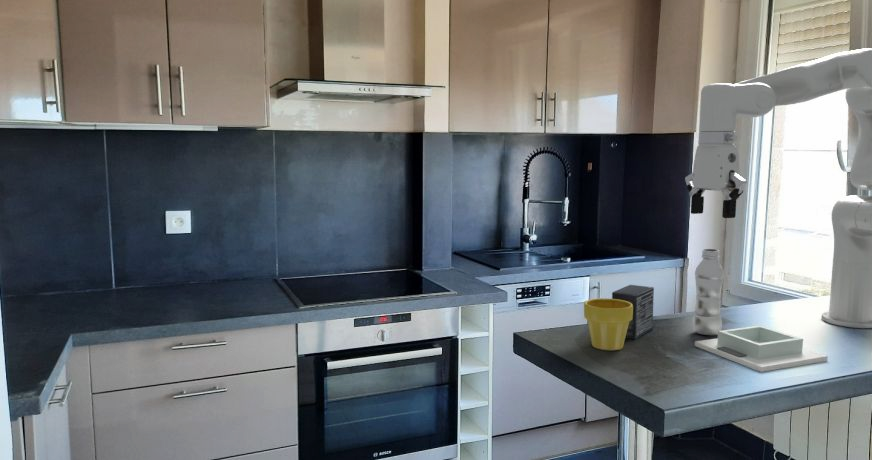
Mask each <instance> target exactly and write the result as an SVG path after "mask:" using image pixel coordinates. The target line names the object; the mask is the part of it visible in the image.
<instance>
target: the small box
mask: <svg viewBox="0 0 872 460" xmlns="http://www.w3.org/2000/svg"><path fill="white" fill-rule="evenodd" d="M654 289H655V288H654V287H653V286H643V285H635V284H629V285H627V286H623V287H621V288H619V289H617V290H615V291H613V292H611V299H618V300H624V301H628V302H630V303H632V305H633V317H632V320H631V321H629V325H628V328H627V332H626V336H625V339H633V340H637V339H639V338H640V337H643V336H644V335H646V334H648V333H649V332H651V331H653V330H654V295H655V294H654Z"/></svg>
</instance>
